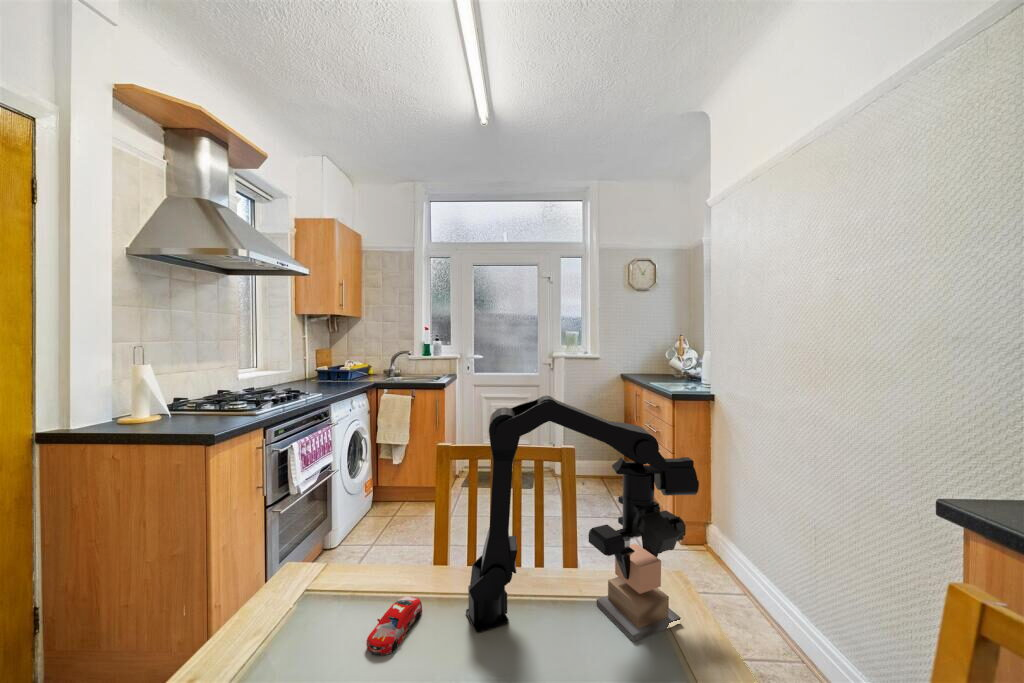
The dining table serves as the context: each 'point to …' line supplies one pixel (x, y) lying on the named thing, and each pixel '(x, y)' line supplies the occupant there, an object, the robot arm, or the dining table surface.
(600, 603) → the tower base
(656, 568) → the terracotta brick
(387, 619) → the race car
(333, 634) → the dining table surface
